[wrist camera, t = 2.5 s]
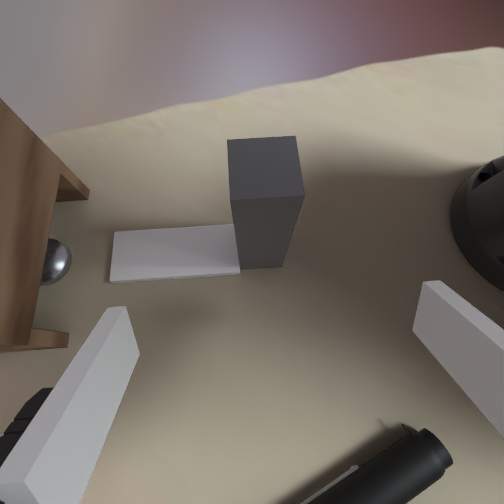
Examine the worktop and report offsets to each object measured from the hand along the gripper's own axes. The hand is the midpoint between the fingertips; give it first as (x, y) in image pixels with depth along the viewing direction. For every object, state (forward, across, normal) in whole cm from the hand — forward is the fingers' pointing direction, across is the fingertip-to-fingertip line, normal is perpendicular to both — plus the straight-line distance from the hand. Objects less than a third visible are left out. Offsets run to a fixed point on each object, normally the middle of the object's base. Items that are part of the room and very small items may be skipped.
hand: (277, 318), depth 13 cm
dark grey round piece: (+16, +20, +4) cm, 26 cm away
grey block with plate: (+15, +6, +3) cm, 17 cm away
